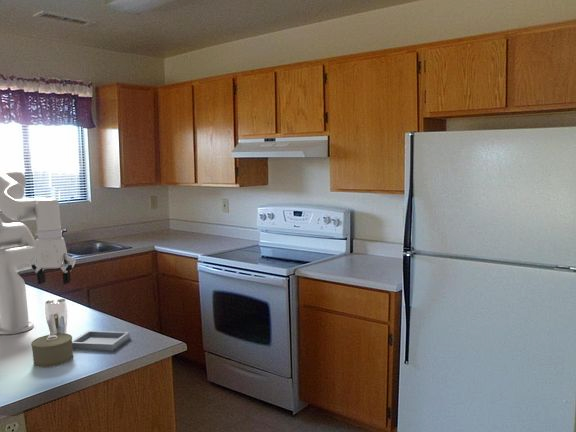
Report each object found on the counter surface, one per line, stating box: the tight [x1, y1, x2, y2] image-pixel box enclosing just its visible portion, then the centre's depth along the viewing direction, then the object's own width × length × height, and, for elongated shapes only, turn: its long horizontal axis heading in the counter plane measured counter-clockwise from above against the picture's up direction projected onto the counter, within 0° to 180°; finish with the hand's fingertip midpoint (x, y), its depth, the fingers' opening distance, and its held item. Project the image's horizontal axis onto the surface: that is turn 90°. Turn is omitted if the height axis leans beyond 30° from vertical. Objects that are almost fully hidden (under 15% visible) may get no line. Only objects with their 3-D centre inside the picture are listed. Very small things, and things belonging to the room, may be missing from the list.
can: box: [30, 333, 74, 369], centre depth 166 cm, size 12×12×7 cm
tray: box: [72, 330, 131, 352], centre depth 180 cm, size 16×12×2 cm
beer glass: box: [44, 298, 68, 335], centre depth 182 cm, size 7×7×15 cm
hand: (54, 283), depth 180 cm, fingers open, 9 cm apart
